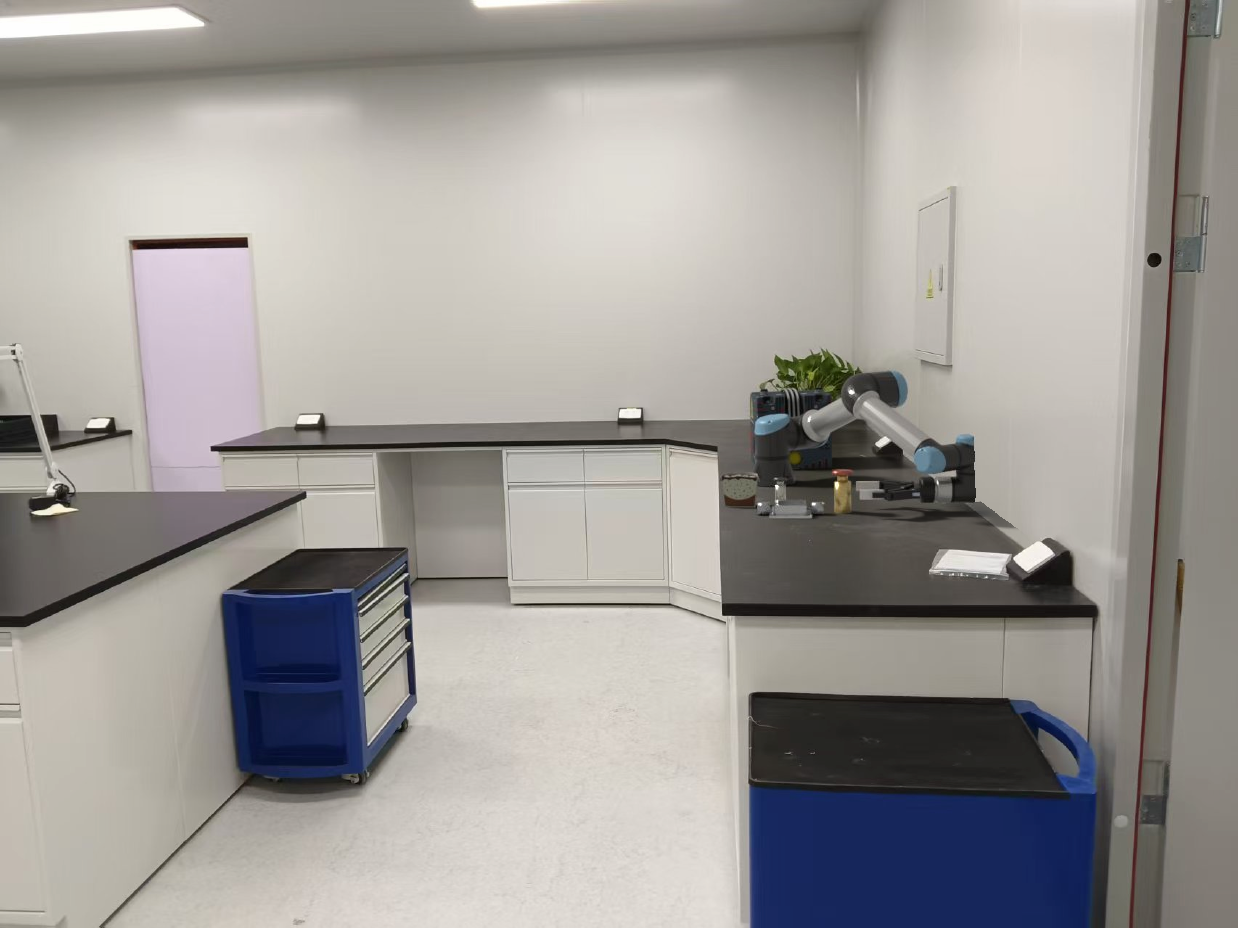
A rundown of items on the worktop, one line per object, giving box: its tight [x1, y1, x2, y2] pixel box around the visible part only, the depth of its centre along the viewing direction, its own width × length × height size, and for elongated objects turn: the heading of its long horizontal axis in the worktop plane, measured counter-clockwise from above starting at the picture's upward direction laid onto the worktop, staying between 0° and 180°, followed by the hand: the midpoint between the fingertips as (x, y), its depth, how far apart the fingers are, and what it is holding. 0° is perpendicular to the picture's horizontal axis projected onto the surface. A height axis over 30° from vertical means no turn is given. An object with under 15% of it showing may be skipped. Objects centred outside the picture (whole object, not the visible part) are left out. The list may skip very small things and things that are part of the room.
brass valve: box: [831, 468, 854, 515], centre depth 284 cm, size 6×6×12 cm
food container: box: [719, 471, 760, 508], centre depth 300 cm, size 12×6×10 cm, turn 74°
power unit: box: [749, 386, 833, 471], centre depth 375 cm, size 28×28×30 cm
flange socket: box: [756, 499, 825, 520], centre depth 284 cm, size 12×19×4 cm, turn 80°
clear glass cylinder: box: [774, 477, 787, 501], centre depth 297 cm, size 4×4×9 cm
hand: (857, 490), depth 282 cm, fingers open, 13 cm apart
